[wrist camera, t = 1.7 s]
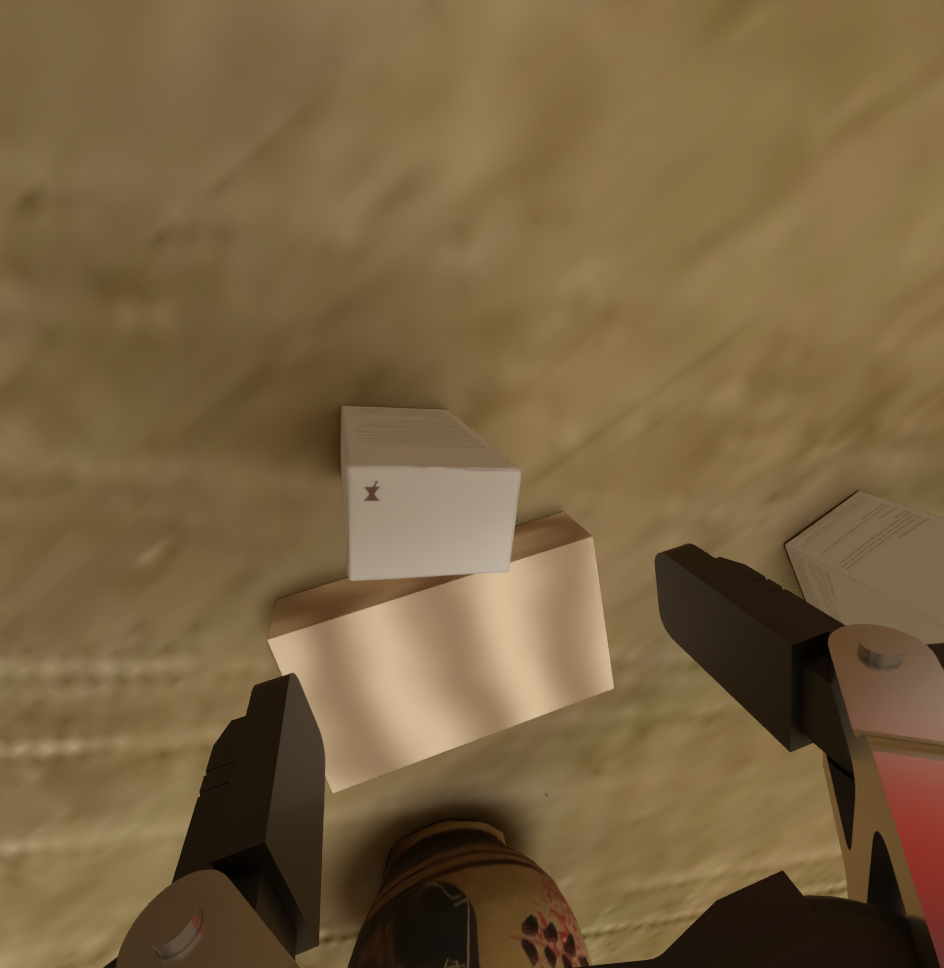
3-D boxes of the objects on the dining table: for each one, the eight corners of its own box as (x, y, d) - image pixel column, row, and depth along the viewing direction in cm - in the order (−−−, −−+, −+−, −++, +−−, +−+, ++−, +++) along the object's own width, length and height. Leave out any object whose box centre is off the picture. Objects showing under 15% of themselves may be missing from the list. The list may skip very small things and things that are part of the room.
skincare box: (340, 480, 28) (341, 584, 17) (340, 403, 27) (342, 462, 16) (448, 481, 30) (512, 576, 19) (452, 408, 29) (525, 464, 17)
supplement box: (806, 610, 40) (996, 729, 29) (781, 542, 38) (980, 643, 26) (881, 557, 41) (1099, 654, 29) (861, 486, 38) (1094, 561, 26)
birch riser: (333, 740, 33) (333, 793, 29) (276, 599, 29) (267, 640, 26) (585, 650, 36) (613, 688, 32) (563, 511, 32) (592, 536, 29)
